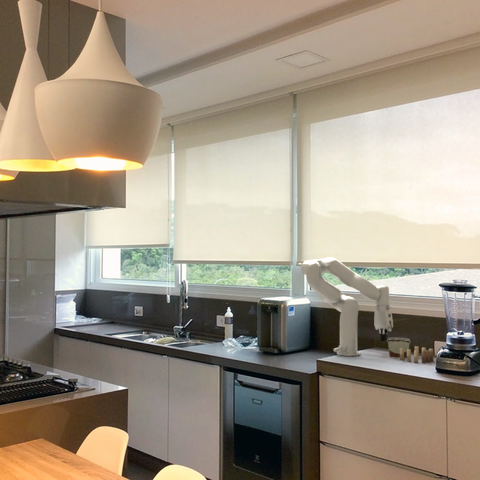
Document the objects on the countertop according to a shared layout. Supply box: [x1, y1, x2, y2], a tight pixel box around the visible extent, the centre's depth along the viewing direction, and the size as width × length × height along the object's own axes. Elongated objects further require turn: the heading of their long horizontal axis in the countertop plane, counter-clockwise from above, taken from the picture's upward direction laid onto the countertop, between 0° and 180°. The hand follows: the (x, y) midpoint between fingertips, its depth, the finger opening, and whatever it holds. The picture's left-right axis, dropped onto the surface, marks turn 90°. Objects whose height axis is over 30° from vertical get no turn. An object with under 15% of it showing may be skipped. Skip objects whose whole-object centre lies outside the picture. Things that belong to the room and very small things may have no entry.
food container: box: [386, 336, 412, 359], centre depth 298 cm, size 12×6×10 cm, turn 74°
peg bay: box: [399, 345, 435, 364], centre depth 287 cm, size 14×14×6 cm
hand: (383, 340), depth 308 cm, fingers closed
